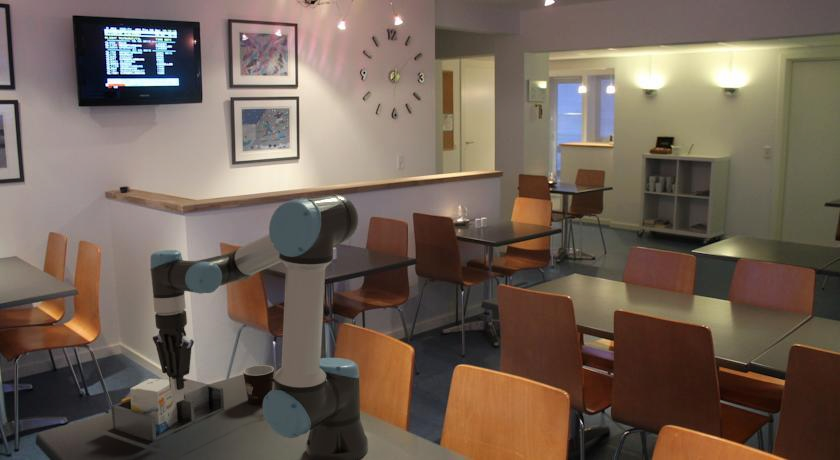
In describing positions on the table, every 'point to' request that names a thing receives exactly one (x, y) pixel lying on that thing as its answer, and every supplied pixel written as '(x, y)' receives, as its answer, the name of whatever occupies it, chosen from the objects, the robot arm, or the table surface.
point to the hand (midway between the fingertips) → (178, 400)
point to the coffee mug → (258, 383)
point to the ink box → (155, 402)
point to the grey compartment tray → (145, 424)
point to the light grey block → (197, 395)
